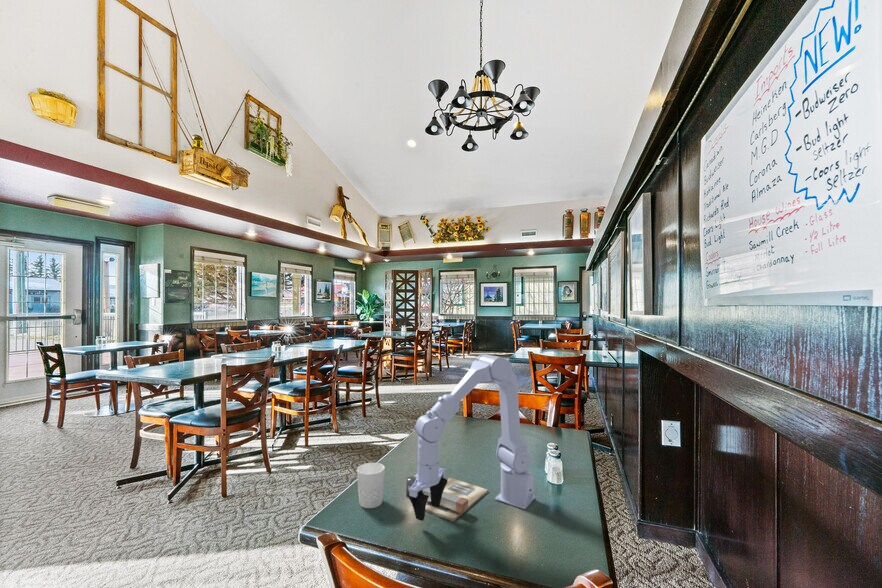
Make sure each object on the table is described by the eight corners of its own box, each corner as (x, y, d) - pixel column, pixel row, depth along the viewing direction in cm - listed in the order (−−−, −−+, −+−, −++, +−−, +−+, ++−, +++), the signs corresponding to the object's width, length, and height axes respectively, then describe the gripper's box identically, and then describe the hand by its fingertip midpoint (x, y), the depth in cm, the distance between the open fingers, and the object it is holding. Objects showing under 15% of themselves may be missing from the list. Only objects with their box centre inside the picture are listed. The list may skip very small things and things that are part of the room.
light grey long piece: (468, 512, 110) (468, 494, 110) (462, 517, 107) (462, 499, 107) (410, 491, 121) (410, 475, 121) (403, 495, 118) (404, 479, 119)
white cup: (351, 505, 113) (351, 470, 113) (368, 493, 120) (368, 460, 120) (373, 512, 109) (373, 476, 109) (389, 499, 116) (390, 465, 116)
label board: (488, 491, 122) (488, 489, 122) (453, 521, 105) (453, 518, 105) (450, 479, 129) (450, 477, 129) (412, 505, 113) (412, 503, 113)
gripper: (430, 449, 114) (430, 496, 114) (399, 468, 102) (399, 520, 101) (451, 454, 110) (451, 503, 110) (422, 474, 98) (422, 529, 98)
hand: (427, 512), depth 106 cm, fingers open, 7 cm apart
